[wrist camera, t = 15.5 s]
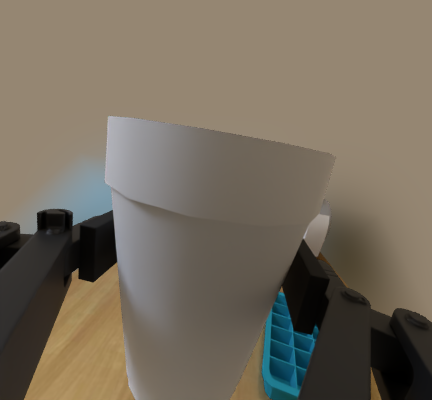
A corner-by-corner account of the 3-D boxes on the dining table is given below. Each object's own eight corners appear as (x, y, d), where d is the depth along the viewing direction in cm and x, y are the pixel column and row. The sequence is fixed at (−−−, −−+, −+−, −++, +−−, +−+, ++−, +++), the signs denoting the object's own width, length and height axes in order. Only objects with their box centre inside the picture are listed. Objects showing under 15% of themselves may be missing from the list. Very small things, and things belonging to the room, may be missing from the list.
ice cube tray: (324, 320, 44) (328, 307, 43) (358, 444, 25) (367, 425, 24) (265, 300, 47) (268, 288, 46) (256, 400, 28) (261, 381, 27)
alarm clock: (278, 237, 84) (292, 185, 80) (300, 241, 85) (315, 189, 80) (293, 261, 67) (312, 197, 62) (321, 266, 67) (341, 202, 62)
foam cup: (74, 343, 13) (79, 113, 10) (195, 291, 20) (221, 141, 17) (152, 569, 7) (230, 125, 4) (294, 381, 13) (365, 163, 10)
